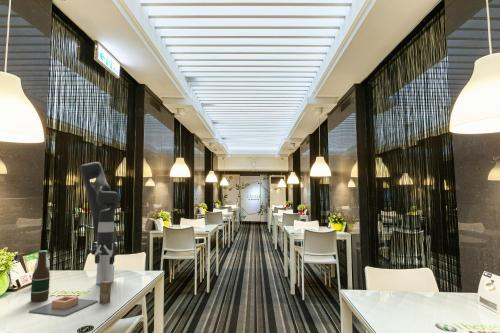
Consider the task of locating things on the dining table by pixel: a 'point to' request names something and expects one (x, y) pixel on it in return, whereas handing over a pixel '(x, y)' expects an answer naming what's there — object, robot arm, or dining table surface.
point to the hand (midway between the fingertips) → (104, 263)
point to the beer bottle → (40, 280)
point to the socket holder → (63, 306)
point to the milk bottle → (46, 262)
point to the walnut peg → (105, 292)
